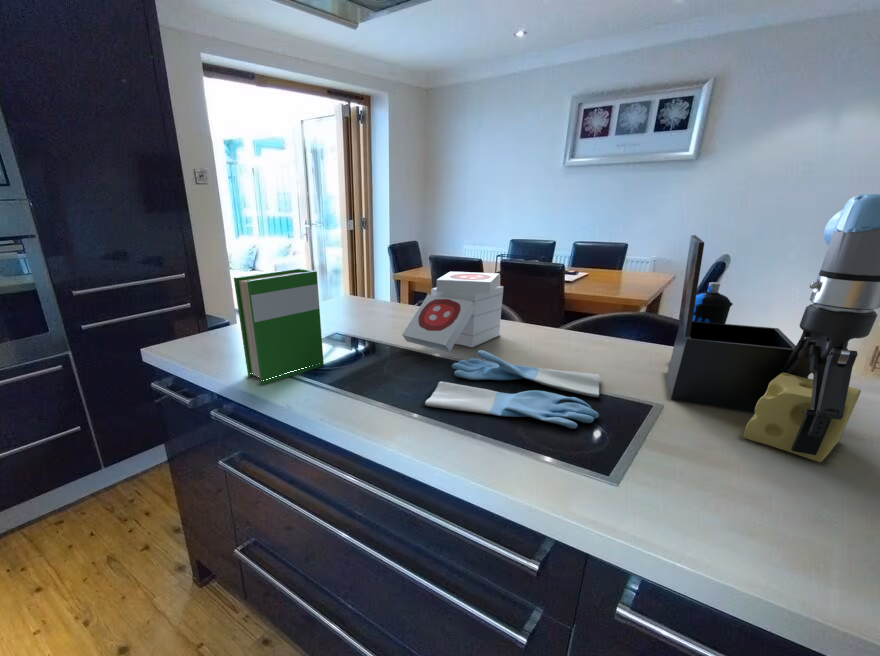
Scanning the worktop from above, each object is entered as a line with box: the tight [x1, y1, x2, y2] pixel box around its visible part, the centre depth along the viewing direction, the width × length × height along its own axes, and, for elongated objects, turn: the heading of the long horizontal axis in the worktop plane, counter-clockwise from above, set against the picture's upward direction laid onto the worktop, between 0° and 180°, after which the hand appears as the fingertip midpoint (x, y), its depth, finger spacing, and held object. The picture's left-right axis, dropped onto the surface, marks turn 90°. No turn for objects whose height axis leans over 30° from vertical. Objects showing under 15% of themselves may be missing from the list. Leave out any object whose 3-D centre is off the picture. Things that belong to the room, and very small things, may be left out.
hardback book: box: [233, 267, 325, 385], centre depth 106 cm, size 18×7×24 cm, turn 131°
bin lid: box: [678, 234, 705, 337], centre depth 88 cm, size 17×16×1 cm
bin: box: [666, 321, 797, 413], centre depth 89 cm, size 17×16×13 cm
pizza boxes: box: [401, 271, 504, 353], centre depth 126 cm, size 19×30×18 cm, turn 135°
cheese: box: [743, 373, 862, 463], centre depth 72 cm, size 10×11×10 cm
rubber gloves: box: [424, 349, 601, 430], centre depth 93 cm, size 27×33×6 cm
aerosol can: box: [692, 281, 734, 324], centre depth 101 cm, size 8×8×20 cm
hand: (791, 433), depth 73 cm, fingers closed on cheese, 13 cm apart
